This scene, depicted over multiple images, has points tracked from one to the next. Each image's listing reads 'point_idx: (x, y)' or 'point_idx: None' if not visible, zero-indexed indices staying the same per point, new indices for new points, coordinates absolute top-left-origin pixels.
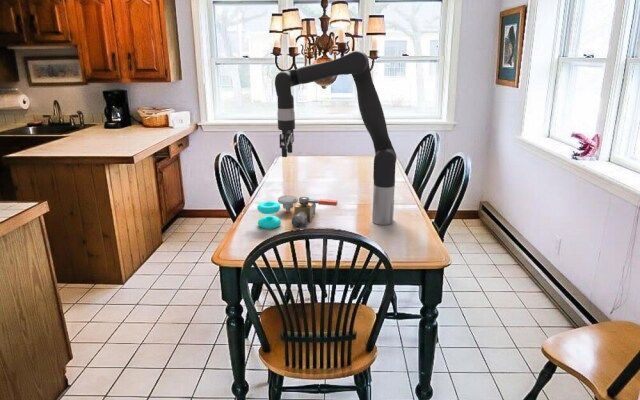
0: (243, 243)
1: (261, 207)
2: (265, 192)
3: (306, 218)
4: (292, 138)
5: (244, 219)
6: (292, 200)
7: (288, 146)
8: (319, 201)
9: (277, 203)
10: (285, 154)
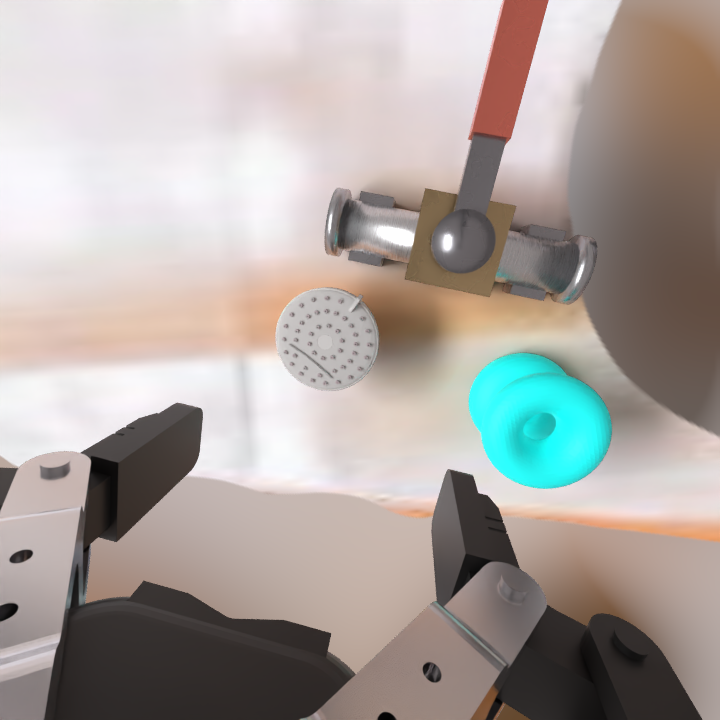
0: (706, 479)
1: (591, 470)
2: None
3: (532, 229)
4: (3, 551)
5: None
6: (362, 314)
7: (137, 501)
8: (511, 133)
9: (542, 394)
10: (495, 511)
